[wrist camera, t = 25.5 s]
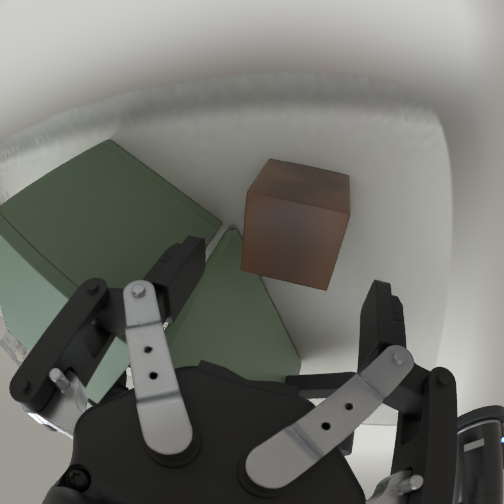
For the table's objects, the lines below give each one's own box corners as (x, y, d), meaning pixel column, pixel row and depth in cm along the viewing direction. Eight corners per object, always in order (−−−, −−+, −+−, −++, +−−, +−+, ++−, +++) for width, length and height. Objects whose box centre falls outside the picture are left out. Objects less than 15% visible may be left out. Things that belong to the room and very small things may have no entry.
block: (349, 175, 18) (350, 214, 14) (332, 242, 21) (326, 291, 17) (269, 158, 18) (246, 191, 15) (261, 226, 22) (240, 270, 18)
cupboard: (223, 222, 22) (139, 353, 13) (152, 316, 32) (97, 404, 23) (109, 138, 20) (-16, 217, 11) (74, 256, 30) (7, 330, 21)
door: (322, 208, 19) (293, 361, 10) (364, 357, 27) (352, 472, 18) (224, 231, 22) (147, 359, 14) (292, 362, 30) (264, 467, 21)
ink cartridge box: (51, 341, 50) (25, 377, 42) (24, 301, 44) (-8, 338, 36) (58, 345, 49) (32, 381, 42) (30, 304, 43) (-2, 342, 35)
